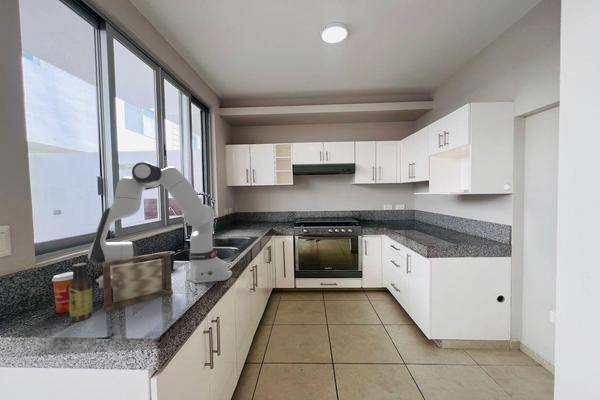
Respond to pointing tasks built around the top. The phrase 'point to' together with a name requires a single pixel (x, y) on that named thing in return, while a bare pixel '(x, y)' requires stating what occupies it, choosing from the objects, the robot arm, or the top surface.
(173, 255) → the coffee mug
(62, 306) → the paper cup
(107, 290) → the brown wooden frame
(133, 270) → the birch door
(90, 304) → the sauce bottle
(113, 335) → the top surface
